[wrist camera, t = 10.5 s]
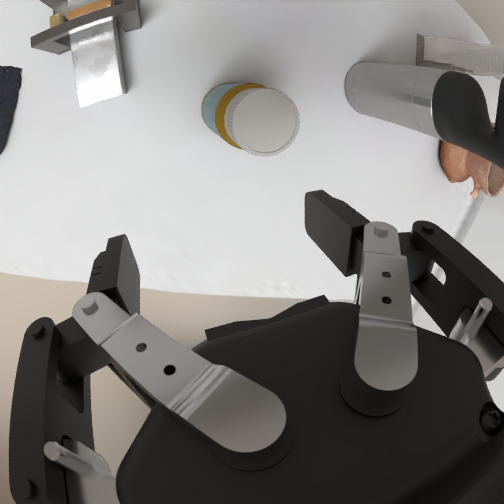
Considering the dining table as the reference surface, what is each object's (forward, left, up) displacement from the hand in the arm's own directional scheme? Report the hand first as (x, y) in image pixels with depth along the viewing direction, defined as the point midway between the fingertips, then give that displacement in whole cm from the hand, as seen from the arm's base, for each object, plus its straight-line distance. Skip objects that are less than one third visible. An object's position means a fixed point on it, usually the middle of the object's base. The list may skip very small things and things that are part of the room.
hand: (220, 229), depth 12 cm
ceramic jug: (-57, +7, -28) cm, 64 cm away
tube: (+8, -17, -28) cm, 33 cm away
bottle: (-7, -2, -28) cm, 29 cm away
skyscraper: (-47, -13, -28) cm, 56 cm away
